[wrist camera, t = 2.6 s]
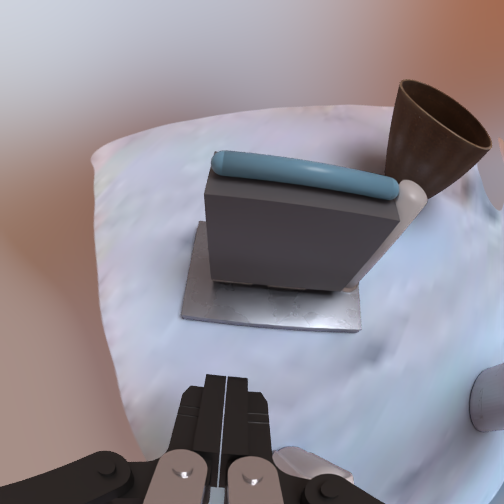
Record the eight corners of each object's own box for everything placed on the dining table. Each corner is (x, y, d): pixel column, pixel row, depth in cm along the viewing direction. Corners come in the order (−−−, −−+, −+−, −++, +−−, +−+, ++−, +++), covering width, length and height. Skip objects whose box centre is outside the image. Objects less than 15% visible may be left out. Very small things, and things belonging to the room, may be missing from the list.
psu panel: (349, 244, 34) (354, 237, 32) (356, 332, 28) (362, 328, 27) (199, 227, 33) (199, 219, 32) (182, 318, 27) (180, 313, 26)
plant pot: (359, 203, 37) (408, 109, 23) (363, 144, 45) (394, 68, 31) (443, 238, 36) (505, 167, 22) (433, 175, 43) (474, 110, 30)
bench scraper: (355, 262, 30) (422, 170, 18) (358, 296, 28) (438, 212, 16) (216, 247, 30) (214, 133, 17) (211, 282, 28) (202, 175, 15)
